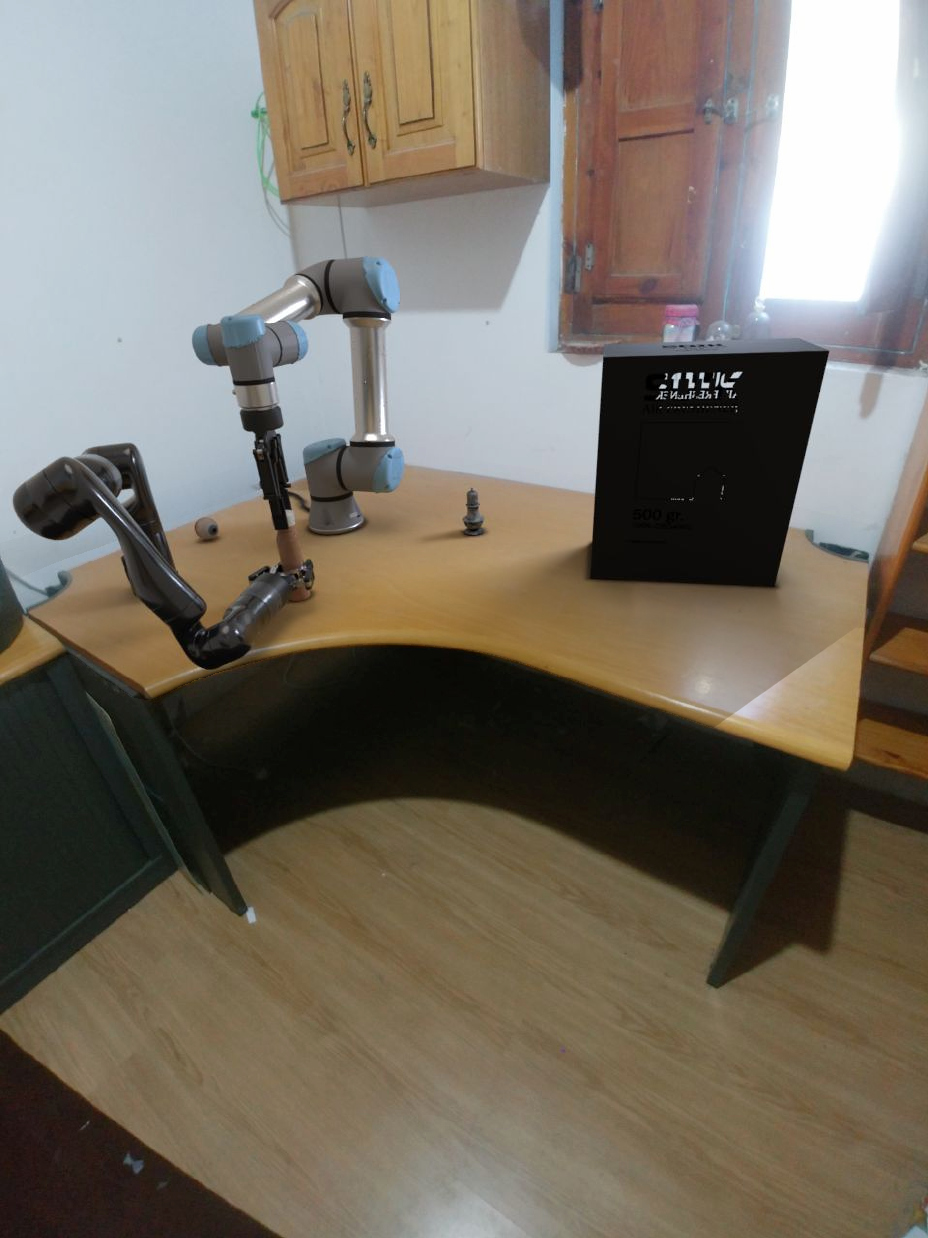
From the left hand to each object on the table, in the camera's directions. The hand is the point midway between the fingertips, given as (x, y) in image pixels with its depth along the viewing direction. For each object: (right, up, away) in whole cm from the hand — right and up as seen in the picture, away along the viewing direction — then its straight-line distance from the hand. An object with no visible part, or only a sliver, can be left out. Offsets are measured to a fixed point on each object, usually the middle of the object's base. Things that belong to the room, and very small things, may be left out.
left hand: (298, 562), depth 132 cm
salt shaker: (+39, +11, +28) cm, 49 cm away
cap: (-1, +9, -8) cm, 12 cm away
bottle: (0, -7, +1) cm, 7 cm away
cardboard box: (+84, 0, +6) cm, 85 cm away
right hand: (-1, +7, -7) cm, 10 cm away
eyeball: (-33, +10, +33) cm, 48 cm away
